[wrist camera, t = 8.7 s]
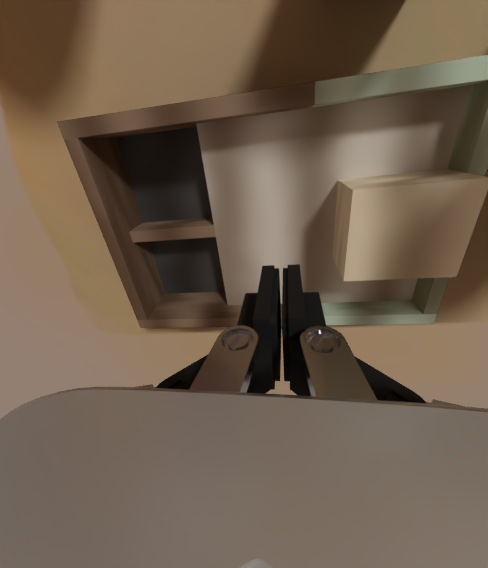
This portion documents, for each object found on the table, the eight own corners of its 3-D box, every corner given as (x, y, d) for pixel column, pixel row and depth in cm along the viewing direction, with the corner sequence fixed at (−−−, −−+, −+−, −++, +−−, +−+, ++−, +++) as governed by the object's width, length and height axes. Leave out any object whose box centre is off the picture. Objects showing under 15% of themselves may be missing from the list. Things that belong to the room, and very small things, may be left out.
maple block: (447, 169, 17) (492, 177, 13) (424, 252, 20) (456, 276, 16) (337, 179, 18) (352, 190, 14) (332, 257, 21) (343, 281, 17)
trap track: (461, 72, 16) (528, 48, 12) (406, 291, 25) (433, 323, 20) (103, 125, 20) (56, 121, 16) (160, 299, 29) (140, 328, 24)
